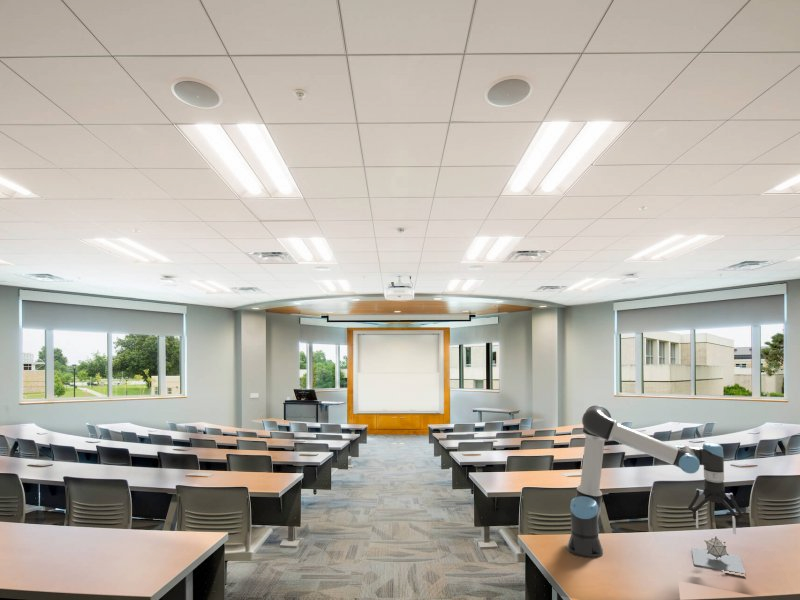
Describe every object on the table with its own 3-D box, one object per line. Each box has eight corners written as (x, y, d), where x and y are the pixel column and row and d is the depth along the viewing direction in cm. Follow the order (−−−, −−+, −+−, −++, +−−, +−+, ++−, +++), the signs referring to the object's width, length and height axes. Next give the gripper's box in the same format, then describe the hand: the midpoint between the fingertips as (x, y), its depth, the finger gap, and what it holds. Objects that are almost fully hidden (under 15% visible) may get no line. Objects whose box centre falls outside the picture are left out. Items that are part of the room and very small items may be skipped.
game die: (732, 565, 210) (731, 541, 210) (710, 563, 211) (709, 539, 212) (723, 555, 218) (722, 532, 219) (701, 554, 220) (701, 531, 221)
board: (694, 567, 211) (694, 564, 211) (691, 550, 227) (691, 547, 227) (745, 577, 203) (745, 573, 203) (739, 558, 219) (739, 555, 219)
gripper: (681, 478, 219) (682, 527, 218) (750, 486, 207) (751, 539, 206) (680, 473, 226) (682, 521, 225) (747, 481, 214) (749, 532, 213)
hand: (715, 530), depth 215 cm, fingers open, 13 cm apart
